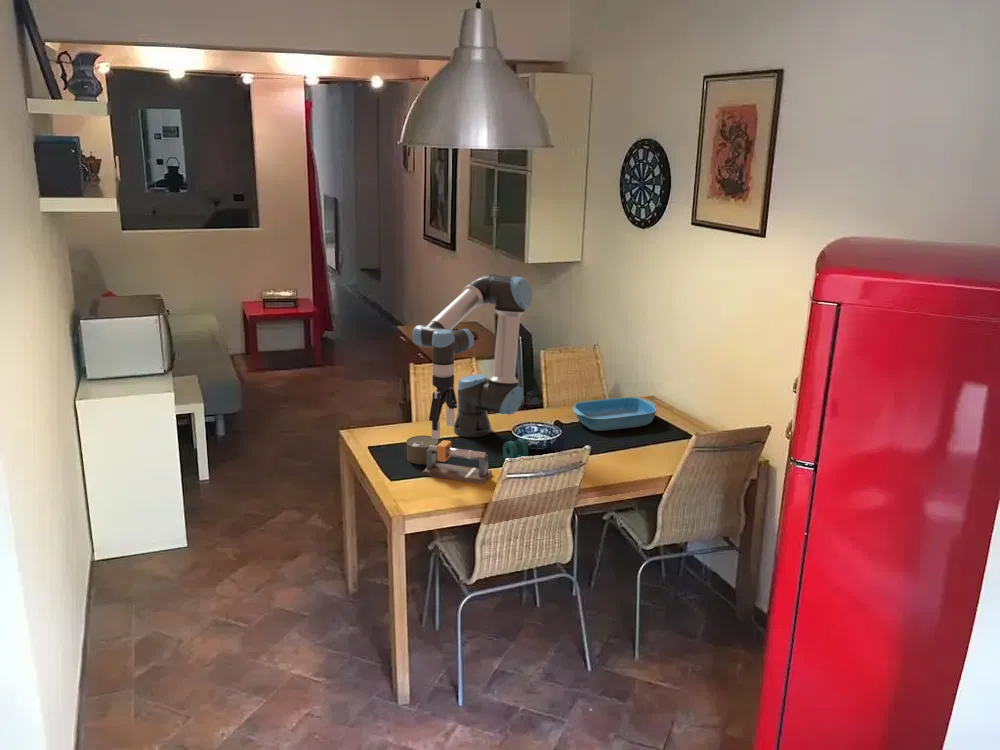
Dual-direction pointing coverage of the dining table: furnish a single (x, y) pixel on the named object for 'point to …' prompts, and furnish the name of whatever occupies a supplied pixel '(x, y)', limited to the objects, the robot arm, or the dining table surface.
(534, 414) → the dining table surface
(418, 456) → the can
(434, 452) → the pipe stand
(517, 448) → the bracket
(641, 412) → the casserole dish
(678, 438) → the dining table surface
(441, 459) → the collar
